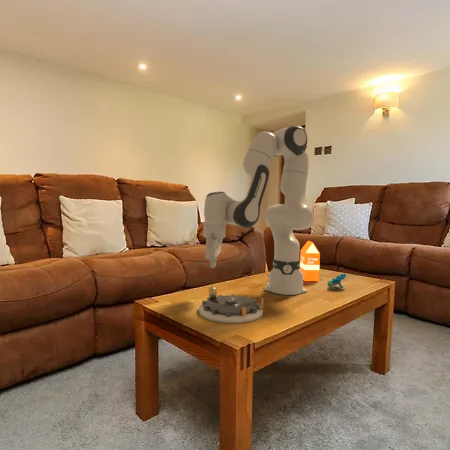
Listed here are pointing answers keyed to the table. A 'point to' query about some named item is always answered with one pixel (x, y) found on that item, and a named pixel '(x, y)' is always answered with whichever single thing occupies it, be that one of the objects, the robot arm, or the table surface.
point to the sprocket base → (232, 318)
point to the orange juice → (310, 262)
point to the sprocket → (229, 304)
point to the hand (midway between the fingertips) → (212, 267)
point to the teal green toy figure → (337, 281)
